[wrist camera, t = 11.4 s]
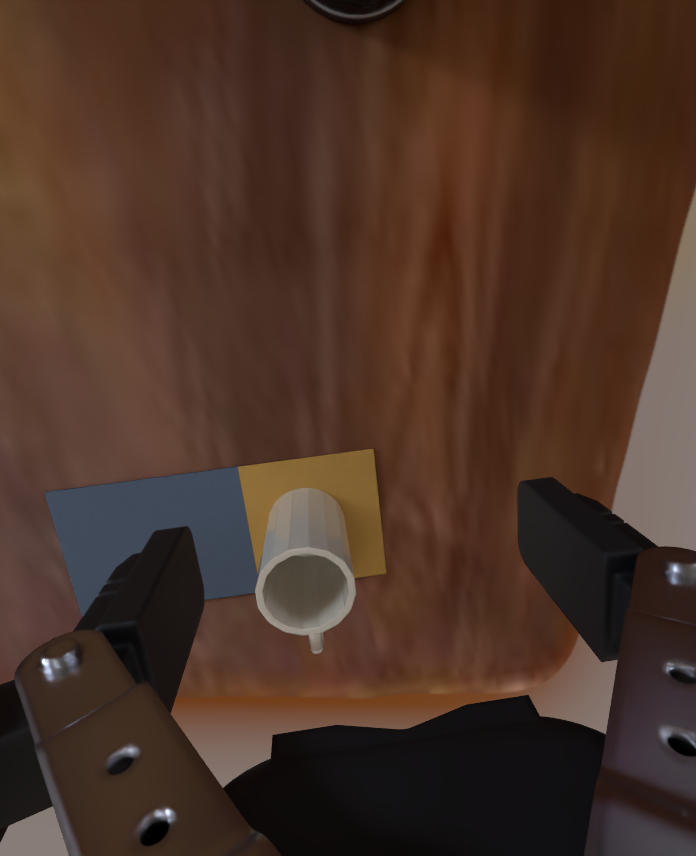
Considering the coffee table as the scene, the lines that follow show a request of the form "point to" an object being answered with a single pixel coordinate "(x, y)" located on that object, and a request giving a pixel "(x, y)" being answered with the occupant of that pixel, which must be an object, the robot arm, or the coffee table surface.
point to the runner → (212, 519)
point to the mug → (305, 566)
